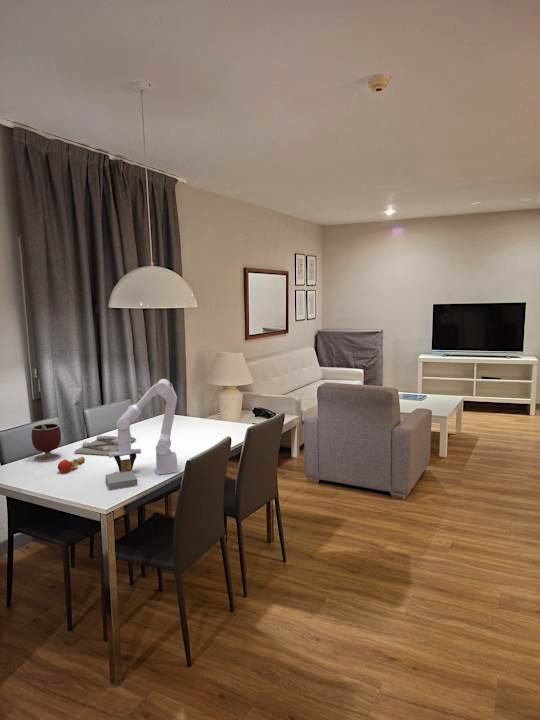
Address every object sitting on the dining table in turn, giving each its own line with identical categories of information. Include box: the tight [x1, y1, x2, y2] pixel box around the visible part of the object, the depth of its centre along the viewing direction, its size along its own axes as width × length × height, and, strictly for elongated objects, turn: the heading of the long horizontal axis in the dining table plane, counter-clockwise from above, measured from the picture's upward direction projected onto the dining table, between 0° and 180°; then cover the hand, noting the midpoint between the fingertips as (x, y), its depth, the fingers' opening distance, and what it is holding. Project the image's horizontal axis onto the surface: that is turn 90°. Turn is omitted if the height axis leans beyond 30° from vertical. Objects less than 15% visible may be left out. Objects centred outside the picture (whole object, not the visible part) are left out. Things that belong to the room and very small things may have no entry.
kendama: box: [57, 456, 86, 474], centre depth 245 cm, size 8×6×18 cm
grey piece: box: [74, 434, 137, 457], centre depth 280 cm, size 30×22×7 cm
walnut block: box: [119, 458, 132, 473], centre depth 237 cm, size 4×4×6 cm
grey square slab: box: [105, 470, 138, 491], centre depth 224 cm, size 12×12×3 cm
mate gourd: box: [30, 422, 62, 463], centre depth 258 cm, size 16×14×20 cm
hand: (125, 470), depth 237 cm, fingers closed on walnut block, 4 cm apart
